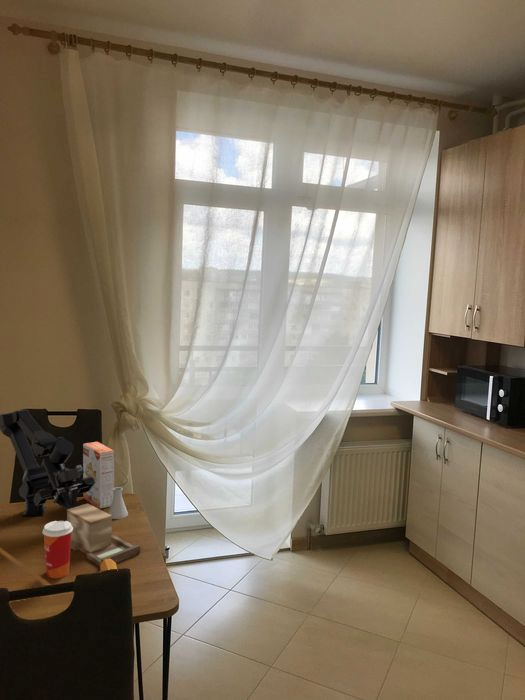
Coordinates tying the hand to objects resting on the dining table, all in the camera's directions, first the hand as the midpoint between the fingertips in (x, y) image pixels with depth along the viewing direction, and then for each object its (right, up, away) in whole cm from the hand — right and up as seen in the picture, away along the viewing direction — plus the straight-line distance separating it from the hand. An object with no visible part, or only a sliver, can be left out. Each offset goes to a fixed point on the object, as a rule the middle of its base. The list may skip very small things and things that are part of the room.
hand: (75, 514), depth 173 cm
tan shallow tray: (+8, -8, -7) cm, 13 cm away
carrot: (+19, -11, -29) cm, 36 cm away
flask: (+9, -6, +16) cm, 19 cm away
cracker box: (-1, -4, +28) cm, 28 cm away
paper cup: (+3, -10, -23) cm, 25 cm away
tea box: (+6, -7, -4) cm, 10 cm away
